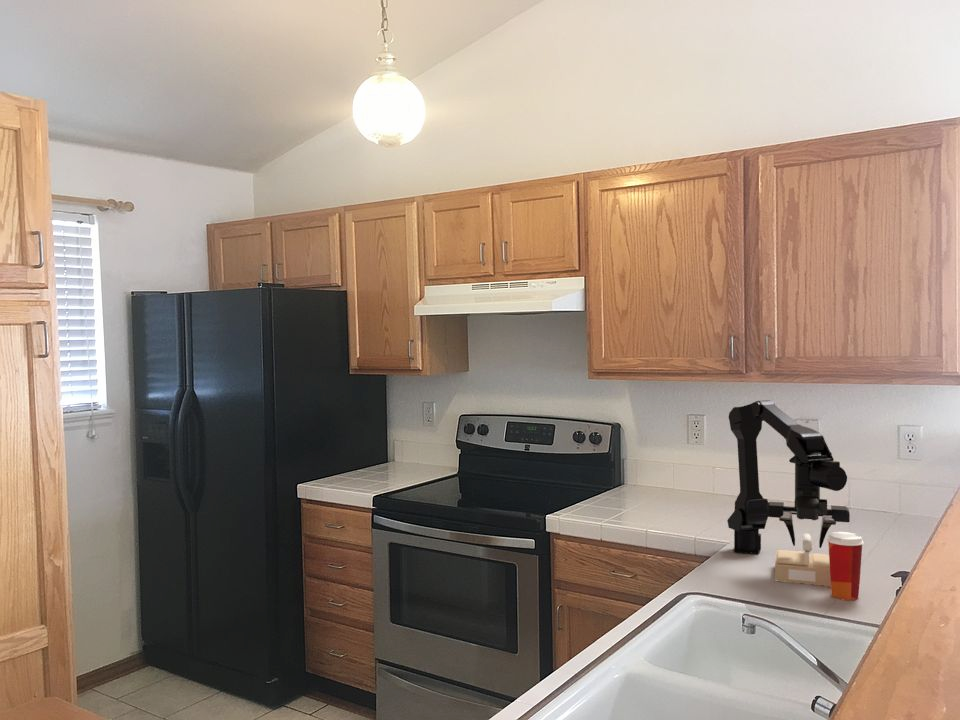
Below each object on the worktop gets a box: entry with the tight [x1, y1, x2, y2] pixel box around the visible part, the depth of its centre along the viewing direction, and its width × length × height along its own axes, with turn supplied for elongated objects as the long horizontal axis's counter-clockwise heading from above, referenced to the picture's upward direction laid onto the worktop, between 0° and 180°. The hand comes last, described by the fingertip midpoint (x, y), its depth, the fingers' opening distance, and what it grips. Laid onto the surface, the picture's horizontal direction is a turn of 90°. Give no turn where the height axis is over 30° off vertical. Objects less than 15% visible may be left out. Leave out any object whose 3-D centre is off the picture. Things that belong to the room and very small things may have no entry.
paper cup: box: [826, 531, 865, 601], centre depth 186 cm, size 8×8×14 cm
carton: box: [774, 550, 831, 587], centre depth 200 cm, size 16×13×4 cm
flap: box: [777, 533, 813, 566], centre depth 201 cm, size 8×11×5 cm
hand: (807, 546), depth 200 cm, fingers open, 6 cm apart
